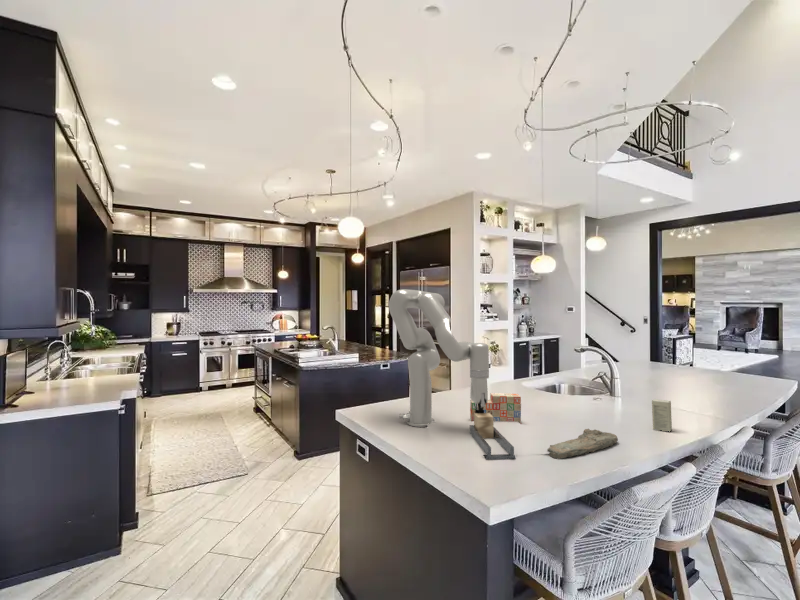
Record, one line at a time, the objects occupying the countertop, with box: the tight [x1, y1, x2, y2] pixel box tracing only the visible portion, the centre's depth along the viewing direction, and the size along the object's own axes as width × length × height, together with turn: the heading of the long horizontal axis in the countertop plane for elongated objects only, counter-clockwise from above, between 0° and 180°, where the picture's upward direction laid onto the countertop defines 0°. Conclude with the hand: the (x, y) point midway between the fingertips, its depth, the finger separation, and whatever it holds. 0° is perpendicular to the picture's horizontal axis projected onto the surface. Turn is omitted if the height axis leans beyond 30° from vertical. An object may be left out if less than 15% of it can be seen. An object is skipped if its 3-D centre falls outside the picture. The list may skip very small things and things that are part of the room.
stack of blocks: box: [469, 392, 522, 425], centre depth 183 cm, size 21×6×12 cm, turn 86°
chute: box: [469, 424, 516, 461], centre depth 151 cm, size 10×26×4 cm, turn 4°
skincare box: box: [651, 398, 673, 433], centre depth 171 cm, size 6×4×12 cm
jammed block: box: [473, 413, 495, 439], centre depth 159 cm, size 6×6×8 cm
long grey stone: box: [546, 428, 619, 460], centre depth 149 cm, size 35×5×10 cm
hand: (479, 419), depth 166 cm, fingers closed
